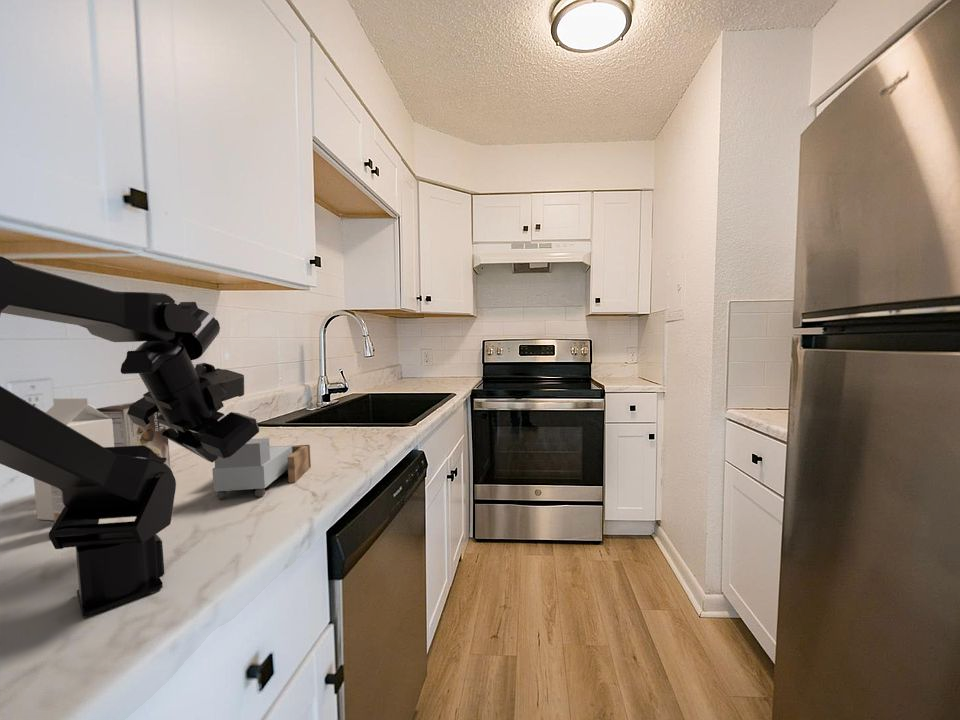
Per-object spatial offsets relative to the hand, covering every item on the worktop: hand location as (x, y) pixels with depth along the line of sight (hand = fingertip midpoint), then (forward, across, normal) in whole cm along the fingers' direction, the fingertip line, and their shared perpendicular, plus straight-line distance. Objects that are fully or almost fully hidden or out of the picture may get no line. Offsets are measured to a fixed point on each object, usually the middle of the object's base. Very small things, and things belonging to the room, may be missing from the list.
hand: (213, 459), depth 65 cm
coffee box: (+18, +27, +1) cm, 33 cm away
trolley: (+16, +3, -6) cm, 17 cm away
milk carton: (+11, +22, +11) cm, 27 cm away
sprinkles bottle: (+7, +15, +14) cm, 22 cm away
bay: (+18, +5, -10) cm, 21 cm away
